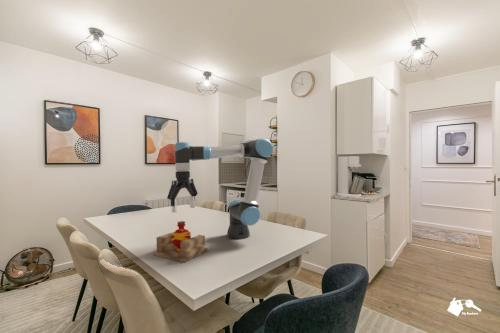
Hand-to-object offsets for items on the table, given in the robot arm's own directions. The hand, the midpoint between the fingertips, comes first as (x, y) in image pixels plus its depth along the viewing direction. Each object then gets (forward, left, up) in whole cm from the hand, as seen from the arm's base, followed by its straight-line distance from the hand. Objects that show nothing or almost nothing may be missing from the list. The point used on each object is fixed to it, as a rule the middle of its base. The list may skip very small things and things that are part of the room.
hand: (183, 209), depth 129 cm
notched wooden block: (+2, -1, -23) cm, 23 cm away
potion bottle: (+1, -1, -22) cm, 22 cm away
